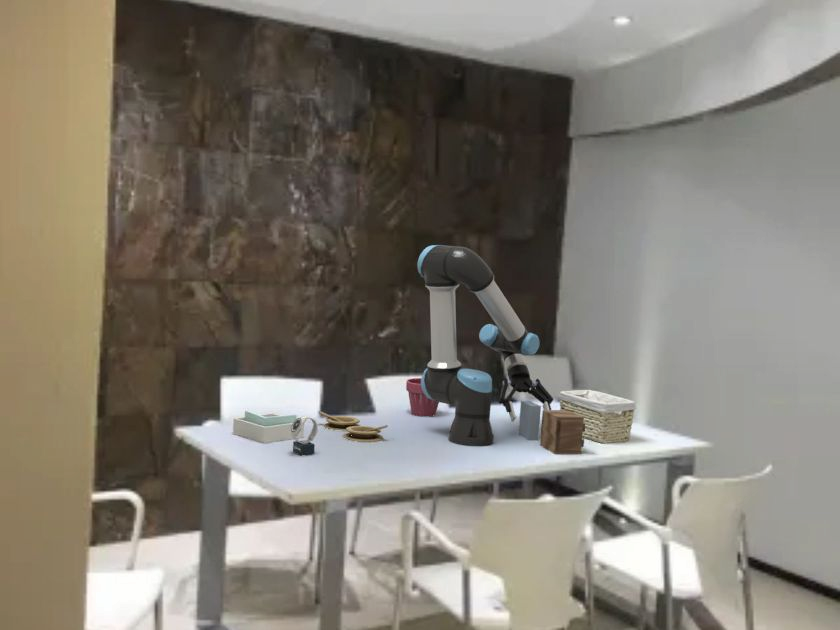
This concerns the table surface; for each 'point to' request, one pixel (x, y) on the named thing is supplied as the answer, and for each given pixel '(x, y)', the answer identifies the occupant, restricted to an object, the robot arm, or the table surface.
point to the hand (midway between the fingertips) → (531, 419)
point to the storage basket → (600, 414)
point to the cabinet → (562, 432)
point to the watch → (306, 445)
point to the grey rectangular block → (529, 420)
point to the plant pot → (420, 399)
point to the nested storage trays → (263, 430)
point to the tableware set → (353, 428)
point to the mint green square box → (268, 419)
